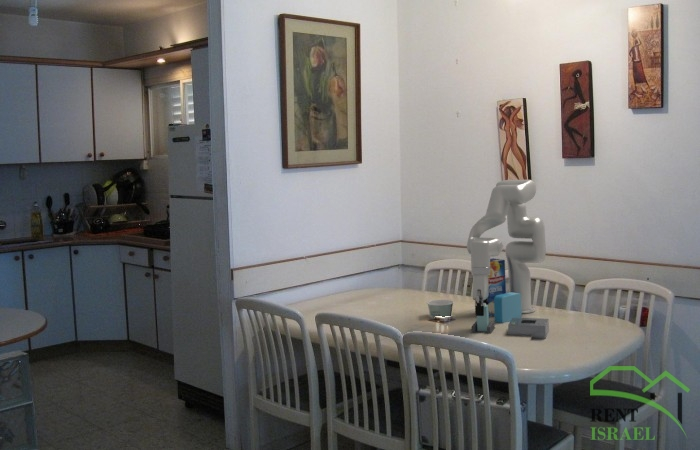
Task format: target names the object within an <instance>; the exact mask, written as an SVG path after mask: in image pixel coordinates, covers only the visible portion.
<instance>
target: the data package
mask: <svg viewBox="0 0 700 450" xmlns="http://www.w3.org/2000/svg"><path fill="white" fill-rule="evenodd" d="M494 314H495V316H494V322H495V323H500V324H505V323H510V321H511V320H512V318H523V317H522V314H521V295H520V294H519V293H513V292H510V293H509V292H506V293H505V294H501V295H496V296H495V297H494Z"/></svg>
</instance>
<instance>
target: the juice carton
mask: <svg viewBox="0 0 700 450" xmlns="http://www.w3.org/2000/svg"><path fill="white" fill-rule="evenodd" d="M505 260H506V259H501V258H492V257H491V258H490V273H491V275H488V283H489V296H488V311H489V318H490V317H493V316H494V317H495V314H494V297H495V296H496V295H501V294H505V293H507V291H506V290H507V287H506V285H507V284H506V263H505V262H506V261H505ZM475 303H476V299H475V300H474V304H475ZM474 311H475V310H474ZM474 313H475V316H476V311H475V312H474Z"/></svg>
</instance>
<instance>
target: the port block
mask: <svg viewBox="0 0 700 450" xmlns="http://www.w3.org/2000/svg"><path fill="white" fill-rule="evenodd" d="M549 323H550V322H549V318H537V317H536V318H535V317H534V318H533V317H522V318H512V320H511V321H509V322H508V325H507V326H508V327H507V328H508V335H509V336H525V337H526V336H527V337H528V336H530V337H531V339H545V340H546V338H547V336H548V334H549V332H550V325H549Z"/></svg>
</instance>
